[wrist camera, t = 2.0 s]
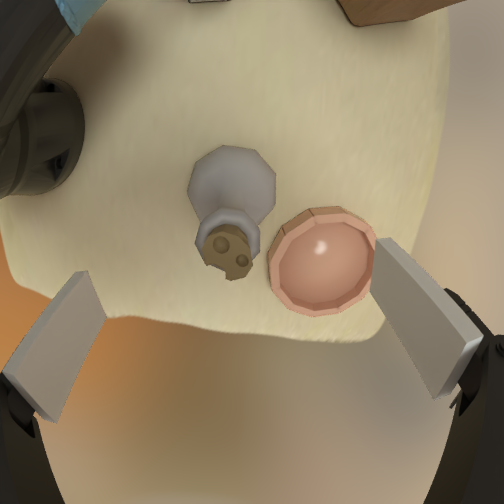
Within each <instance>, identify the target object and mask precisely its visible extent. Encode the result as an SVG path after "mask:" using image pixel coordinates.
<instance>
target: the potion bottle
mask: <svg viewBox="0 0 504 504" xmlns="http://www.w3.org/2000/svg"><path fill="white" fill-rule="evenodd" d="M187 193H188V196H189V199H190V201H191V203H192V205H193V207H194V210H195V212H196V214H197V216H198V218H199V220H200V222H201V223H200V226H199V230H198V233H197V237H196V240H195V245H196V247H197V249H198V251H199V253H200V255H201V257H202V259H203V261H204V263H205V264H206V265H207V266H208V265H212V266H214V267H216V268H218V269H220V270H223V271H225V273H226V279H227V280H230V281H232V280H236V279H240V278H244V277H246V275H247V274H248V272H249V271H250V269H251V267H252V266H253V263H252V260H253V259H254V258H255V257H256V255H257V254H258V253H259V252H260V230H259V228H258V225H259V224H260V223H261V222H262V220H263V219H264V218H265V217H266V216H267V215H268V214H269V213H270V211H271V210H272V209H273V208H274V206H275V200H276V173H275V172H274V171H273V170H272V169H271V167H270V166H269V165H268V164H267V163H266V162H265V160H264V159H263V158H262V157H261V156H260V155H259V153H258V152H257V151H256V150H253V149H246V148H239V147H233V146H225V145H223V146H221V147H219V148H218V149H216V150H214V151H213V152H211V153H210V154H208V155H206V156H205V157H203V158H202V159H200V160H199V161H197V162H196V163H195V167H194V170H193V173H192V177H191V180H190V183H189V187H188V190H187Z"/></svg>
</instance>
